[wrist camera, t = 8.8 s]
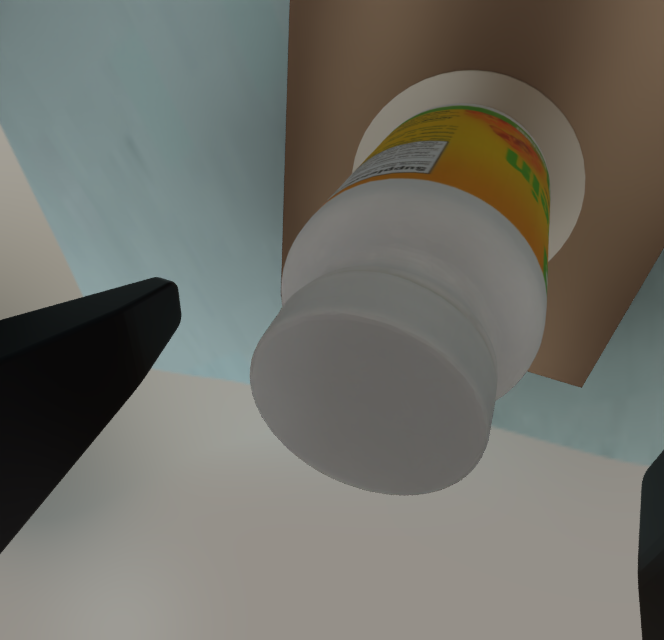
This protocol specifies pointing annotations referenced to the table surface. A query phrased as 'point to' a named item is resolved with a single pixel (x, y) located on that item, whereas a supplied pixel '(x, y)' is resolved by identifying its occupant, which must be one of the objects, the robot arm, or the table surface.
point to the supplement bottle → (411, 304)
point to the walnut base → (515, 101)
